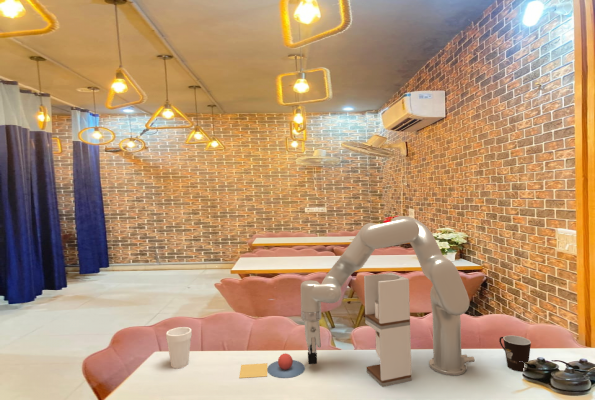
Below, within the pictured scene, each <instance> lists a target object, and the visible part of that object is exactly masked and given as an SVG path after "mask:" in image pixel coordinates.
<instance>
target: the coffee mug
mask: <svg viewBox="0 0 595 400" xmlns="http://www.w3.org/2000/svg"><path fill="white" fill-rule="evenodd" d="M502 339H503V343H502ZM498 341H499V344H500V346H501V347H502V349H503V351H504V353H505V359H506V366H507V367H508V368H509V369H510V370H513V371H515V372H523V368H524V363H523V362H528V361H530V356H531V355H530V354H531V345H532V342H531V341H532V340H530V339H528V338H526V337H524V336H519V335H505V336H500V337H499V340H498ZM519 361H523V362H519ZM523 373H524V372H523Z"/></svg>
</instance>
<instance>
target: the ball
mask: <svg viewBox="0 0 595 400" xmlns="http://www.w3.org/2000/svg"><path fill="white" fill-rule="evenodd" d="M293 360H294V359H293V357H292V356H291V355H290V354H289V353H286V352H285V353H282V354H280V356H279V357H278V359H277V361H278V365H279V366H280V368H282V369H284V370H286V369H289V368H290V367H291V366H292V363H293Z"/></svg>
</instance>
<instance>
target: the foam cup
mask: <svg viewBox="0 0 595 400" xmlns="http://www.w3.org/2000/svg"><path fill="white" fill-rule="evenodd" d="M192 331H193V330H192V328H190V327H187V326H182V327H181V326H179V327H174V328H170V329H168V330H167V331H166V333H165V338H166V342H167V347H168V348H167V349H168V353H169V360H170V365H171V366H172V367H173V368H172V369H182V368H185V367H187V366H188V365H189V361H190V360H189V359H190V352H191V350H190V349H191V341H192V340H191V339H192V337H193V336H192V335H193V334H192Z"/></svg>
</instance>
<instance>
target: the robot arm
mask: <svg viewBox="0 0 595 400" xmlns="http://www.w3.org/2000/svg"><path fill="white" fill-rule="evenodd" d="M408 243H409V244H410V245H411V247H412V250H413V252H414V253H415V256H416V257H417V260H418V263H419V265H420V268H421V271H422V274H423V275H424V276H425V277H426V278H427V279H428V280H430V282H431V284H432V286H431V287H430V291H429V292H430V293H429V294H430V295H429V297H430V303H431V311H432V347H433V349H432V351H433V353H432V355H433V357H432V358H430V359H429V361H428V365H429V367H430V369H432V370H433V371H435V372H437V373H440V374H443V375H449V376H459V375H463V374H465V373H466V372H467V363H475V362H476V361H475V357H474V356H468V355H467V354H462V330H461V329H462V328H461V327H462V324H461V323H462V322H461V321H462V320H461V315H465V313H466V312H467V311H468V309H469V307H470V297H469V295H468V291H467V289H466V287H465V284H464V282H463V279H462V278H461V274H460V272H459V270H458V268H457V267H456V265H455V264H454V262H452V261H451V260H450V259H448V258H446V257H445V256H444V255H443V252H442V251H441V249H440V247H439V245H438V242H437V240H436V239H435V236H434V234H433V233H432V231H431V230H430V229H429V228H428V226H427V225H425V224H424V223H422V222H421V221H420V220H418V219H416V218H413V217H412V216H411V217H410V216H405V215H404V216H403V215H398V216H395V217H393V218H392V219H391V220H390V221H388V222H383V223H374V222H369V223H365V224H364V225H363V226H362V227H361V228H360V229H359V231H358V232H357V234H356V235H355V236H354V238H353V239H352V240H351V242H350V243H349V245H348V246H347V247H346V249H345V250H344V252H343V253H342V254H341V256H340V257H339V259H337V260H336V262H335V263H334V264H333V265H332V267H331V268H330V270H329V271H328V273H327V274H326V275H325V277H324V279H323V280H322V282H321V283H320V282H319V281H317V280H311V279H309V280H305V281H302V282H301V283H300V313H301V315H300V316H301V318H300V319H301V320H302V321H304V336H305V342H306V346H307V350H308V351H307V361H308V365H316V364H318V352H317V348H319V349H320V348H321V346H322V344H321V327H320V320H322V303H326V304H335V303H337V302H339V301H340V299H341V297H342V287H343V286H344V284H345V283H346V281H347V280H348V279H349V277H350V276H351V275H352V274H353V273H355V272H357V271H359V270H361V269H362V268H363V267H364V265H365V264H366V263H367V261H368V259H369V258H370V257H371V255H372V254H373V253H374V252H375V250H376V249H385V248H388V247H389V248H390V247H393V246H399V245H403V244H408Z"/></svg>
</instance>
